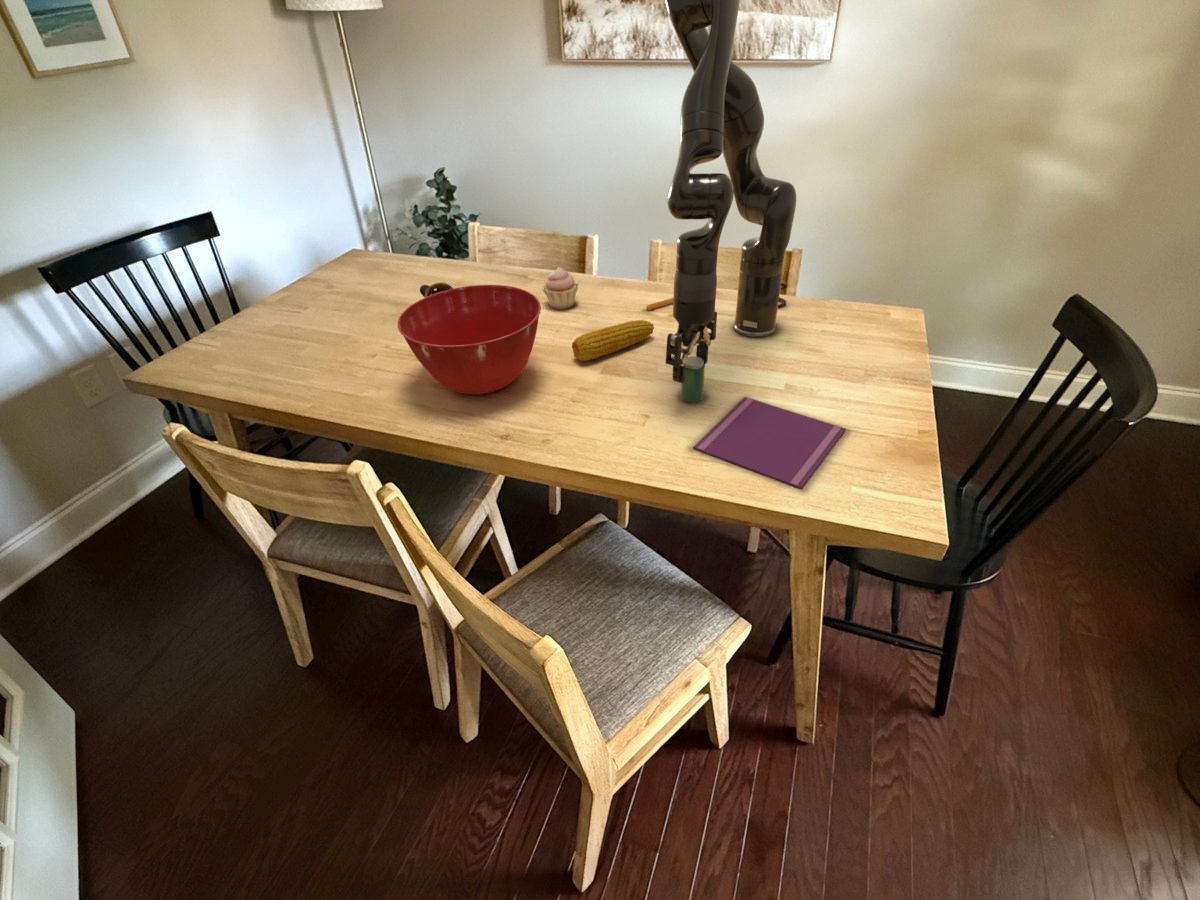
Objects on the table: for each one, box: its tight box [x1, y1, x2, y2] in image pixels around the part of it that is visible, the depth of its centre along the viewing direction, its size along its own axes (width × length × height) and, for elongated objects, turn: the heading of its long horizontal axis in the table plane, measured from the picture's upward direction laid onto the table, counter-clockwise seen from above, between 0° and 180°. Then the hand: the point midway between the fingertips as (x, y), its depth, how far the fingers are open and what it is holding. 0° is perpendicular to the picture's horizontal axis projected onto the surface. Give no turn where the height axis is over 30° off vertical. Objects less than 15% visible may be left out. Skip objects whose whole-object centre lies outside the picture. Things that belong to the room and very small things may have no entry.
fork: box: [645, 297, 673, 311], centre depth 164 cm, size 2×2×20 cm
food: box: [571, 319, 655, 362], centre depth 143 cm, size 21×6×6 cm, turn 126°
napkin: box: [692, 396, 847, 490], centre depth 114 cm, size 20×20×1 cm
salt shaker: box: [680, 356, 706, 403], centre depth 125 cm, size 4×4×8 cm
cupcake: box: [542, 266, 579, 310], centre depth 163 cm, size 9×9×10 cm
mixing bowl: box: [397, 284, 542, 396], centre depth 132 cm, size 28×28×15 cm
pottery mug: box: [419, 282, 454, 298], centre depth 165 cm, size 12×10×8 cm
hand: (690, 372), depth 124 cm, fingers open, 8 cm apart
